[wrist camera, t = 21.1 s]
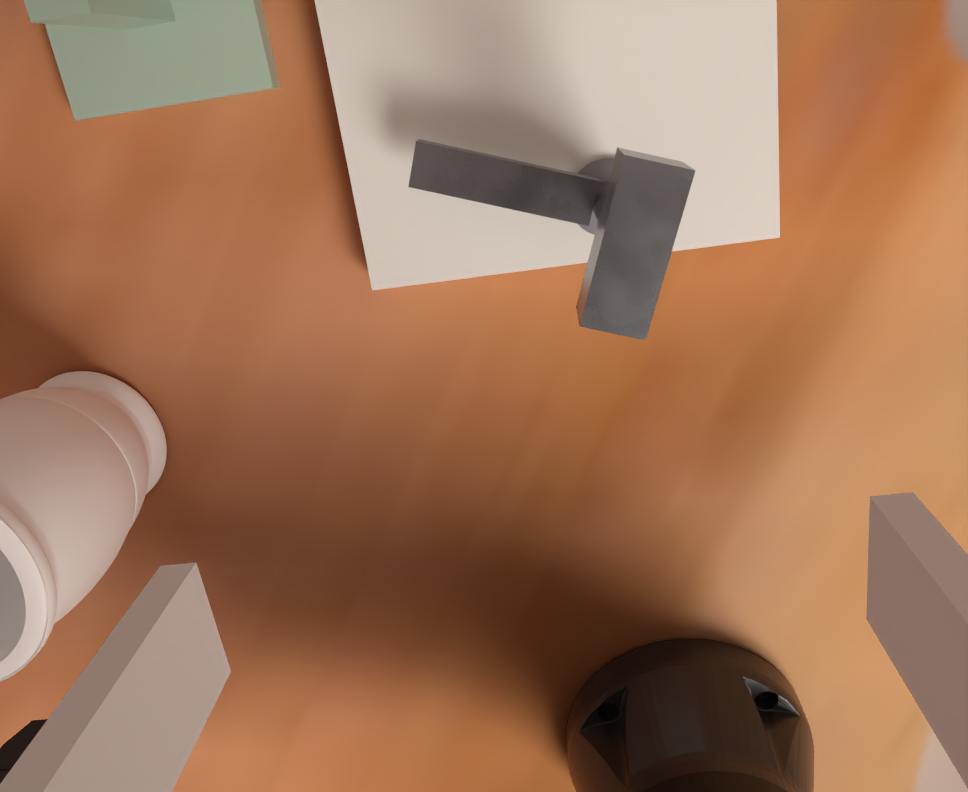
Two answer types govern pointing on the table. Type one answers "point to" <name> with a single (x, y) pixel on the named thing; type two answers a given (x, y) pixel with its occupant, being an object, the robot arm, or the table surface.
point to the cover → (155, 51)
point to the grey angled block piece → (582, 219)
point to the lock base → (549, 118)
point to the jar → (67, 497)
